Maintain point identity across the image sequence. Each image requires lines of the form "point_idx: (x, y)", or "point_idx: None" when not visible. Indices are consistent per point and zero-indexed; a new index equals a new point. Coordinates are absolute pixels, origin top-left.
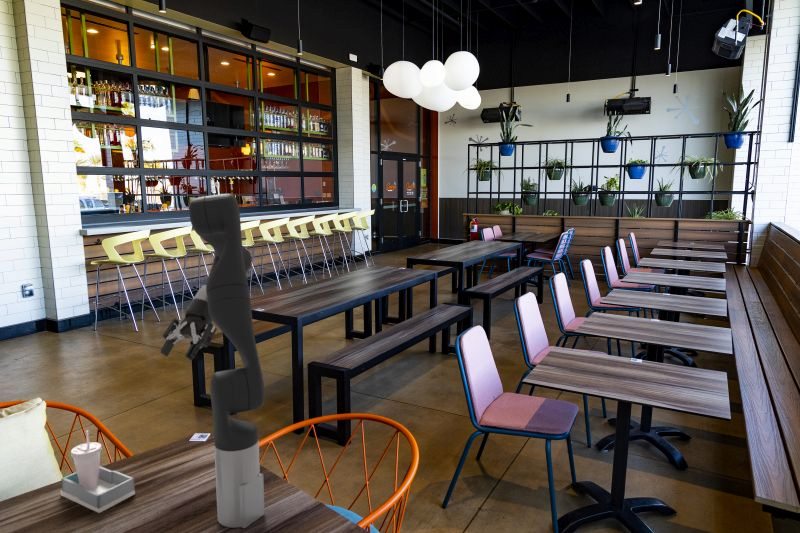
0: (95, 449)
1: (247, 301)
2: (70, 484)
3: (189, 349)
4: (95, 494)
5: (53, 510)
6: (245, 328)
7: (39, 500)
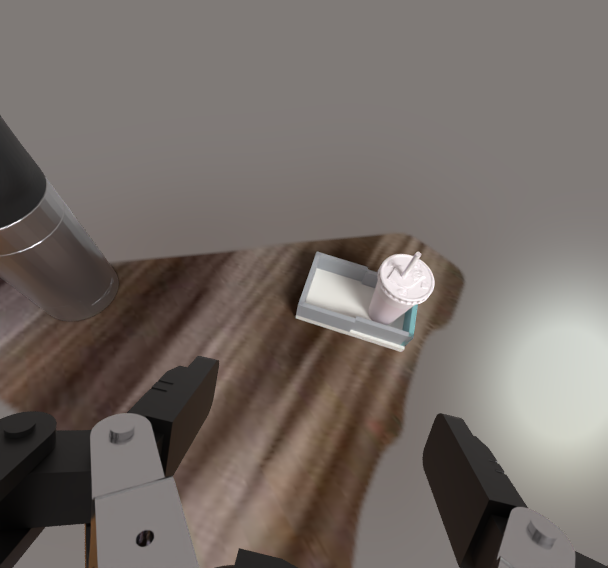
0: (385, 275)
1: None
2: None
3: (189, 386)
4: (324, 254)
5: None
6: None
7: None
